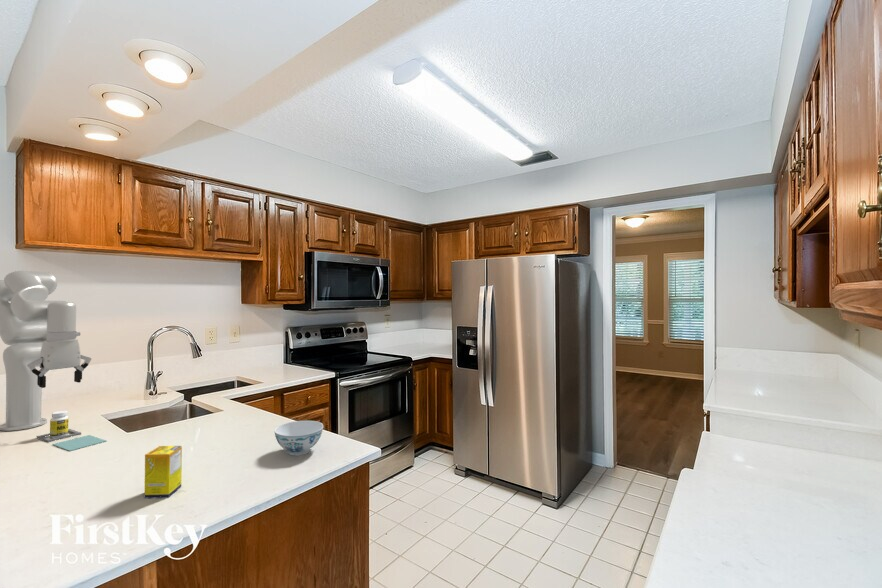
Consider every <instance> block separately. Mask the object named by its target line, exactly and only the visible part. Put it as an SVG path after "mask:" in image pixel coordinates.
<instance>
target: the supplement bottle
mask: <svg viewBox="0 0 882 588" xmlns="http://www.w3.org/2000/svg"><path fill="white" fill-rule="evenodd" d="M69 418H70V417H69V416H68V411H67V410H59V411H58V410H57V411H54V412H52V413H51V418H50V420H49V433H50V436H49V438H50V439H53V438H57V437H62V436H66V435H69V432H68V429H69V420H70V419H69Z"/></svg>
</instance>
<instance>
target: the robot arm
mask: <svg viewBox="0 0 882 588" xmlns="http://www.w3.org/2000/svg"><path fill="white" fill-rule="evenodd" d="M57 287H58V280H57V278H56V276H55V275H54V274H53V273H51V272H49V271H48V272H47V271H32V270H31V271H30V270H18V271H17V270H15V271H12V272H9V273H8V274H6V275H5V277H4V279H3V280H0V339H1V340H2V342H3V343H4V344H5V345H7V347H6V348H4V350H3V353H2V361H3V365H4V370H5V423H3V424H1V425H0V431H3V432H4V431H5V432H12V431H22V430H27V429H33V428H36V427H39V426H43V425H45V424H47V422H48V419H47V418H44V417H42V401H43V399H42V397H43V396H42V395H43V392H42V391H43V388H44V389H45V388H46V386H47V377H46V376H45V374H47V373H48V372H49V371H52V370H53V371H54V370H61V369H69V368H73V369H75V370H74V372H73V373H74V375H73V377H74V379H73V380H74V382H75V383H79V384H80V383H81V382H82V380H83V372H84V370H85V369H86V368H87V367H89V364H90V363H91V361H92V358H91V357H88V356H87V355H83V354H81V347H80V343H79V339H78V338H77V337H80V336H81V332H80V331H77V304H76V303H74V302H71V301H65V300H46V299H48V296H50V295H51V294H53V293H54V292H55V290H56V289H57ZM82 360H83V362H82V363H81V361H82ZM38 367H39V368H40V369H37V368H38Z"/></svg>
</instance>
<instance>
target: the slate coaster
mask: <svg viewBox="0 0 882 588" xmlns="http://www.w3.org/2000/svg"><path fill="white" fill-rule="evenodd" d="M68 433H70V434H67V435H66V436H62V437H57V438H50V436H49V435H50V432H49V433H46V434H41V435H36V439H38V438H39V439H38V440H42V441H43V440H44V442H47V443H51V442H55V440H56V441H59V439H60V440H63V439H68V438H72V437H75V436H76V437H77V436H81V435H82V432H81V431H78V430H75V429H71V428H68ZM45 436H46V437H45ZM71 436H72V437H71Z"/></svg>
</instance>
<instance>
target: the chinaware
mask: <svg viewBox="0 0 882 588" xmlns="http://www.w3.org/2000/svg"><path fill="white" fill-rule="evenodd" d="M323 430H324V424H323V423H322V422H320V421H316V420H295V421H290V422H286V423H283V424H280V425H279V426H277V427H275V428H274V437H275V439H276V441H277V444H278V445H279V446H280V447H281V448H282V449H284V450H285V451H286V452H287V453H288V455H291V456H301V455H306V454H308V453H310V452H311V449H312V448H314V446H315V445H316V444H317V443H318V442H319V440H320V438H321V436H322V434H323Z"/></svg>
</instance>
